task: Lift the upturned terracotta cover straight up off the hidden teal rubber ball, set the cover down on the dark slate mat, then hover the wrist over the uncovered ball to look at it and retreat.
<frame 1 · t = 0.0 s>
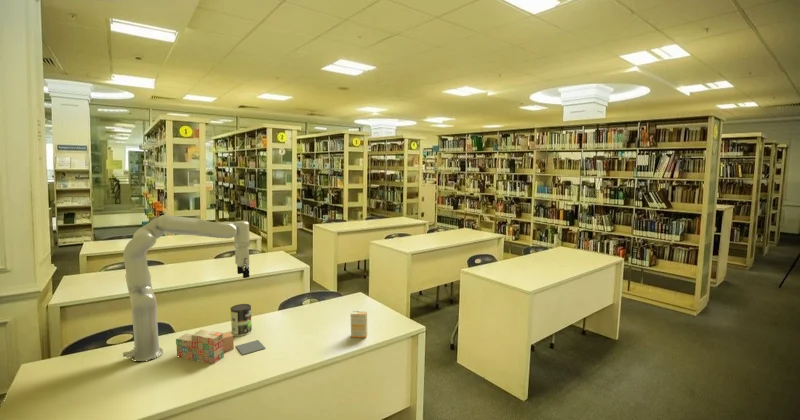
hand: (243, 275, 205), 31 cm above the table, fingers open, 9 cm apart
coffee can: (241, 332, 207), on the table
supplement box: (359, 336, 203), on the table
stack of blocks: (200, 358, 179), on the table
ball: (225, 345, 188), in the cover
mat: (250, 347, 189), on the table
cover: (225, 348, 188), on the table
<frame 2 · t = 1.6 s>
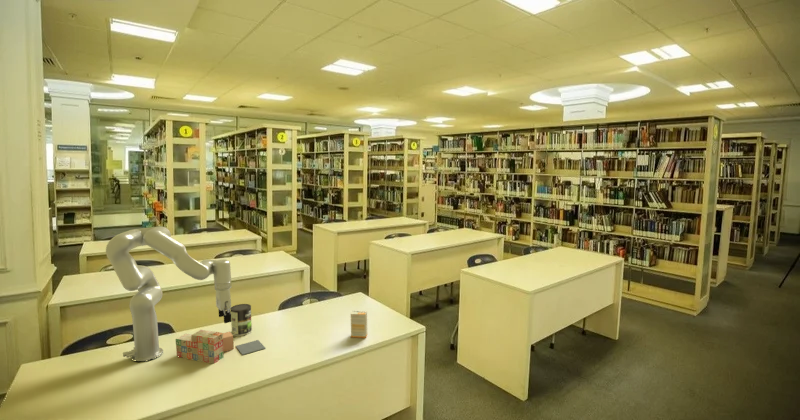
hand: (225, 319, 186), 15 cm above the table, fingers open, 9 cm apart
nothing on the table moved.
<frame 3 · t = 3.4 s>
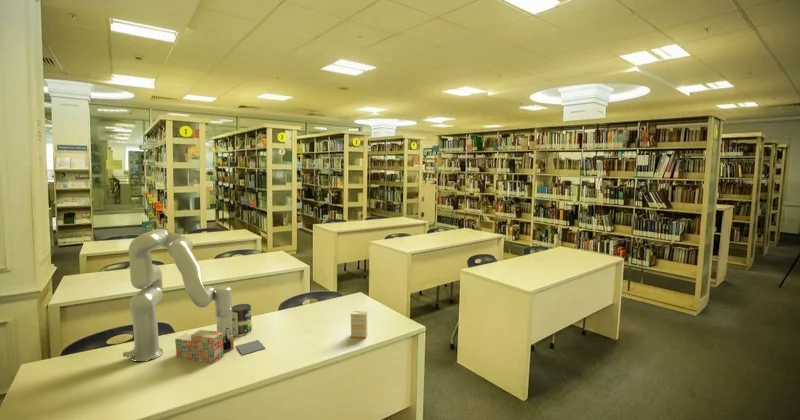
hand: (225, 346, 188), 1 cm above the table, fingers closed on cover, 6 cm apart
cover: (225, 348, 188), on the table, touching gripper
everything else where it was.
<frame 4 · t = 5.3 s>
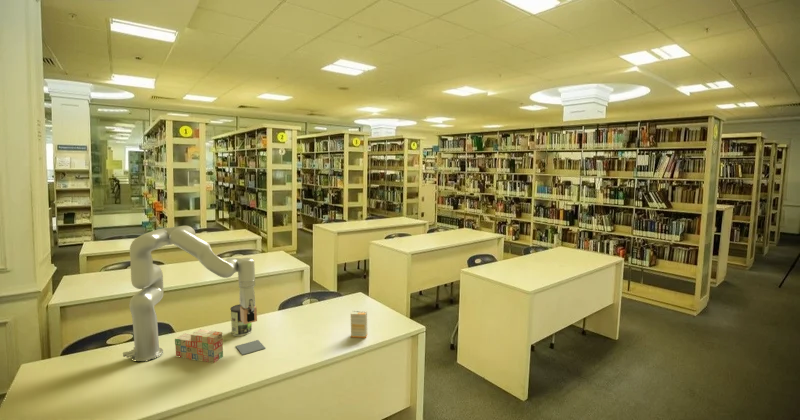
hand: (248, 318, 187), 15 cm above the table, fingers closed on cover, 6 cm apart
ball: (209, 349, 184), on the table, tilted 91°
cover: (248, 320, 188), point 14 cm above the table, touching gripper
everything else where it was.
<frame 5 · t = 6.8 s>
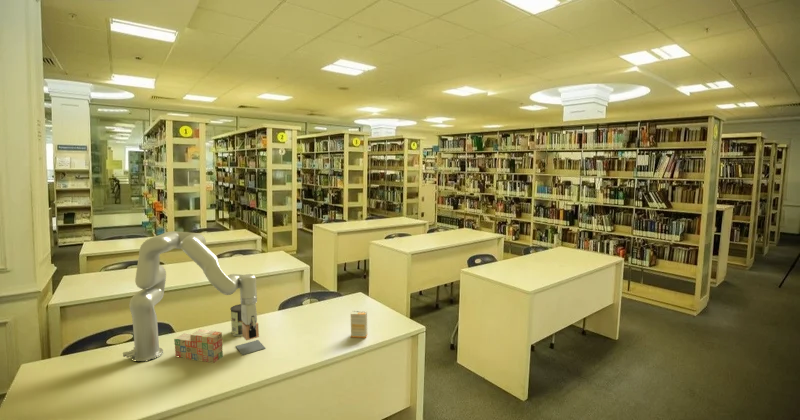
hand: (250, 334, 188), 7 cm above the table, fingers closed on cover, 6 cm apart
ball: (210, 349, 184), on the table, tilted 101°
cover: (250, 336, 188), point 6 cm above the table, touching gripper
everything else where it was.
when the fingers open (2 cm above the table, at t = 8.2 s): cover stays where it is, resting on mat.
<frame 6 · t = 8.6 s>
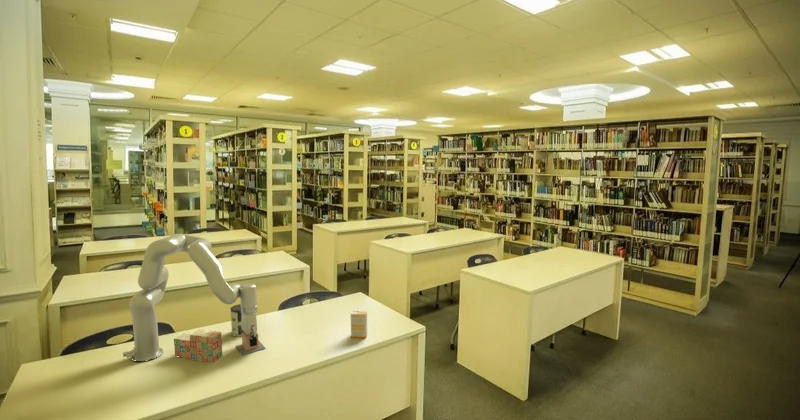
hand: (250, 342, 189), 3 cm above the table, fingers open, 9 cm apart
ball: (210, 348, 185), on the table, tilted 112°
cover: (250, 346, 189), resting on mat
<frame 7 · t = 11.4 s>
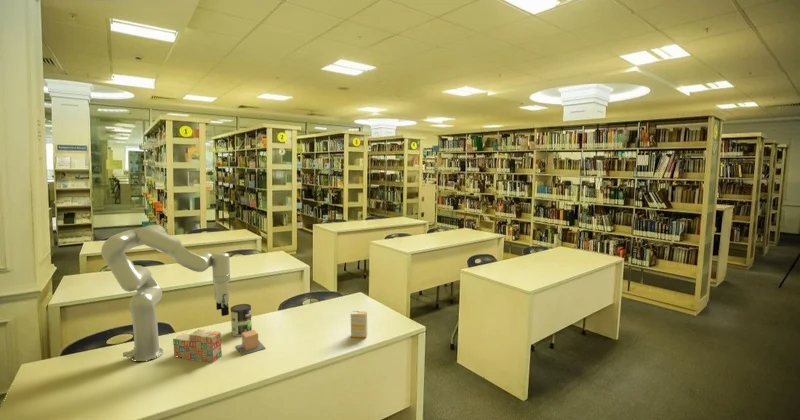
hand: (222, 312, 186), 19 cm above the table, fingers open, 9 cm apart
ball: (211, 347, 186), on the table, tilted 120°
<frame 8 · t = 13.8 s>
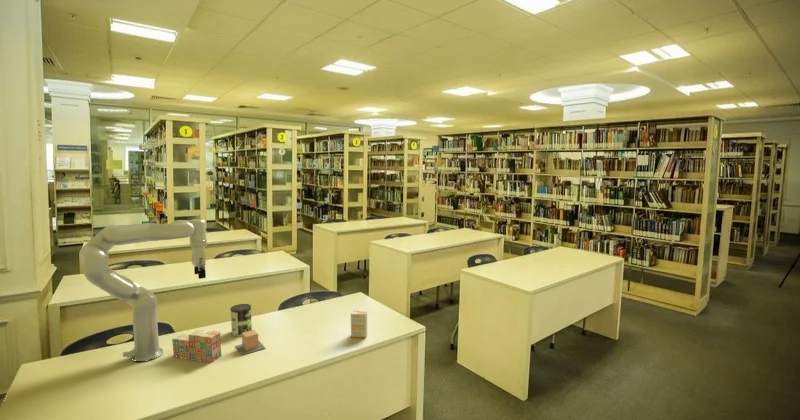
hand: (200, 276, 196), 33 cm above the table, fingers open, 9 cm apart
at the end: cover inside the target area on the mat (0.0 cm from its centre), point 0.5 cm above the mat's base; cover tilted 0°; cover moved 11.9 cm from its start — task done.
